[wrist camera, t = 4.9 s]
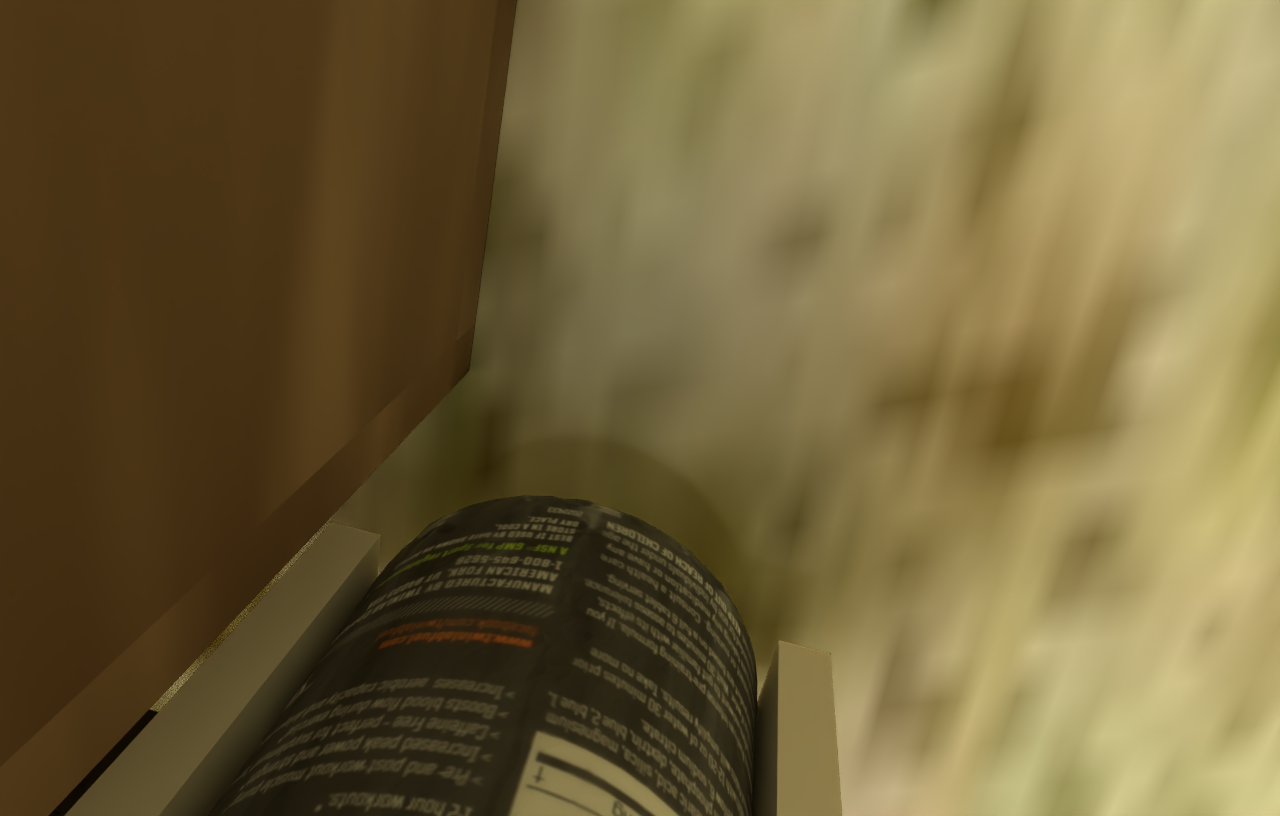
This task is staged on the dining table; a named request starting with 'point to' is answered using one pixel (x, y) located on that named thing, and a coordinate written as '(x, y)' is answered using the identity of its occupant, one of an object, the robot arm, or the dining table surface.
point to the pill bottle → (522, 680)
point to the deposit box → (212, 317)
